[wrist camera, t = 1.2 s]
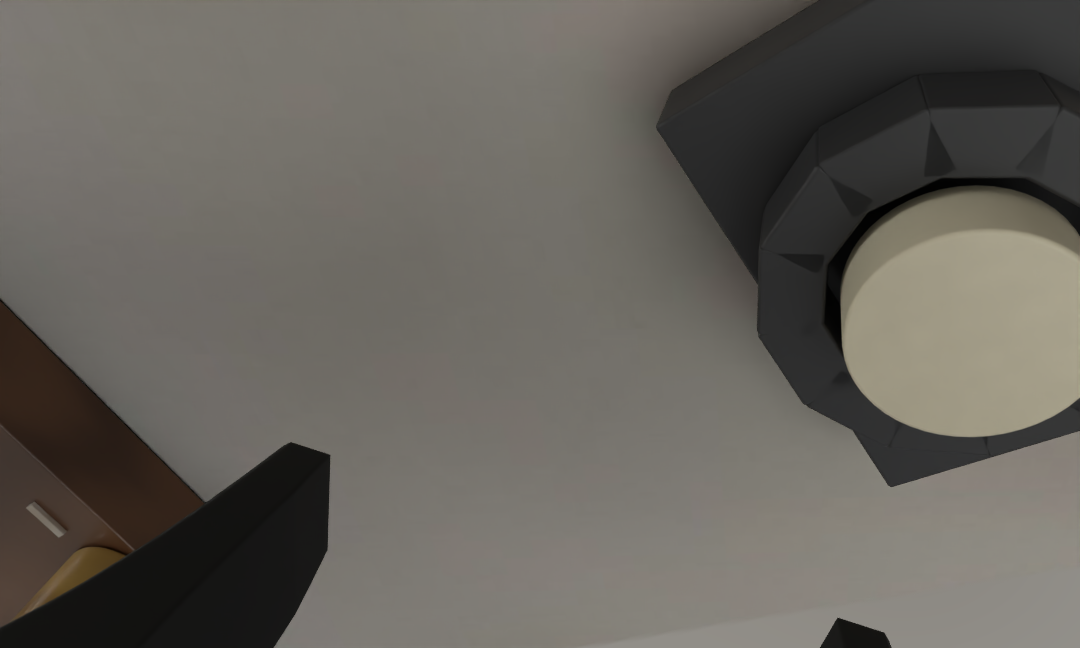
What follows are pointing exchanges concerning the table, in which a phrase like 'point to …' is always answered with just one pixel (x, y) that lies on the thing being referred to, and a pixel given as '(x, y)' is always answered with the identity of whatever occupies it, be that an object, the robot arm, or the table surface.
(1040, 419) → the button
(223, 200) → the table surface
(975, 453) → the switch block
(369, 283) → the table surface
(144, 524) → the dimmer panel
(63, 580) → the dimmer knob
